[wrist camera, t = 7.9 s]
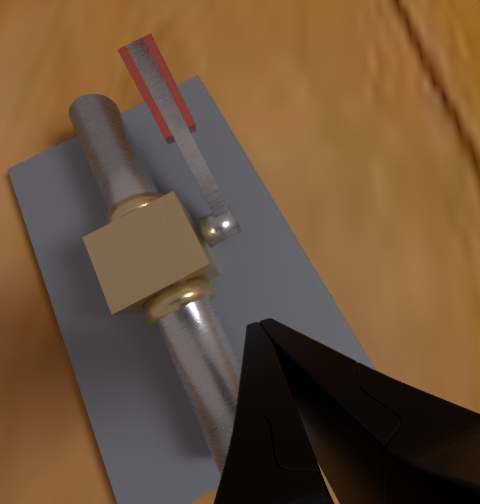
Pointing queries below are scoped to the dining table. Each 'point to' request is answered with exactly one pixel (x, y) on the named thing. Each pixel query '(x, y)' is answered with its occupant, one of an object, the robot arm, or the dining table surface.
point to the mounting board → (136, 326)
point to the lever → (178, 131)
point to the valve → (158, 268)
